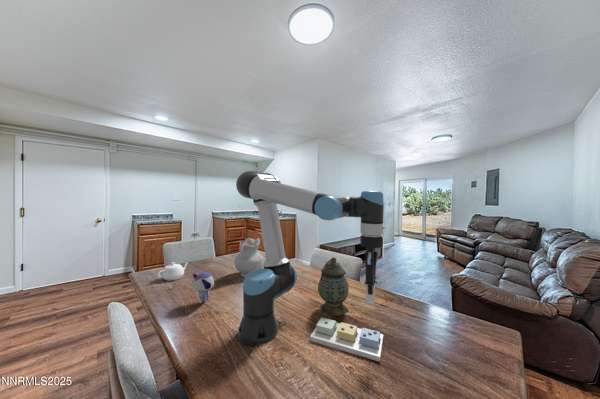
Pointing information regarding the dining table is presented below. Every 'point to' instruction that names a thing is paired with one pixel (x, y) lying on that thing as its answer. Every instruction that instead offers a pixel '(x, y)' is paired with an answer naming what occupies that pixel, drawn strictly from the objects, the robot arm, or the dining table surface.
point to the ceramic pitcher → (249, 257)
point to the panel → (348, 344)
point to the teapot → (172, 272)
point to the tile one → (326, 326)
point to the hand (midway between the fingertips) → (370, 302)
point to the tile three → (370, 338)
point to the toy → (203, 285)
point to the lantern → (333, 288)
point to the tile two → (347, 332)
